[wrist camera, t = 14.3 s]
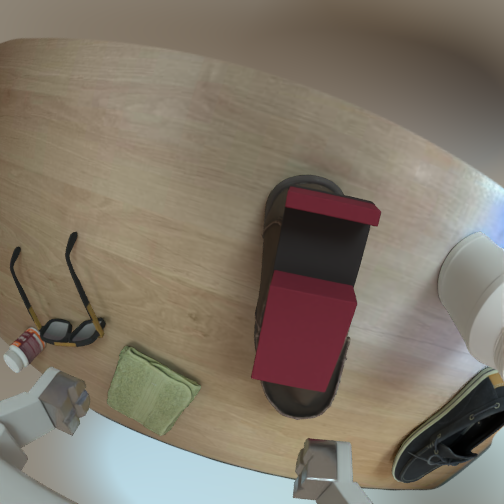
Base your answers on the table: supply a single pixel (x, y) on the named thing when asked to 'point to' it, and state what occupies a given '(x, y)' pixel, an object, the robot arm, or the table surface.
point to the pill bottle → (24, 350)
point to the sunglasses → (58, 328)
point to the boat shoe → (453, 429)
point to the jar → (476, 296)
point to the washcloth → (149, 391)
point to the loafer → (280, 396)
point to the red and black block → (312, 287)
